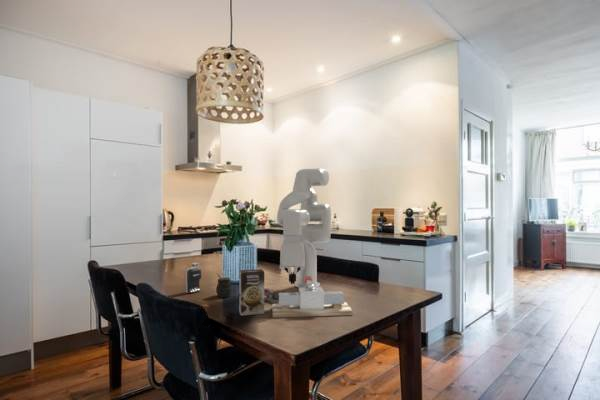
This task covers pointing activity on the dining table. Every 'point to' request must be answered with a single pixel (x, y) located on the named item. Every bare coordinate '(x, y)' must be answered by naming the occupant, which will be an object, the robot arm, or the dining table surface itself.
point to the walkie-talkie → (270, 295)
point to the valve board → (311, 311)
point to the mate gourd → (224, 287)
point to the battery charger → (193, 280)
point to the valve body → (311, 298)
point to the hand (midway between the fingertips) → (292, 283)
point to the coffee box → (251, 292)
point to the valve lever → (309, 282)
